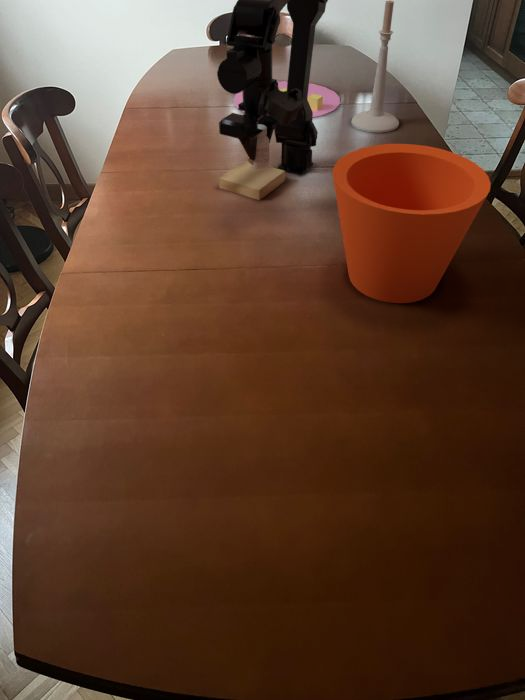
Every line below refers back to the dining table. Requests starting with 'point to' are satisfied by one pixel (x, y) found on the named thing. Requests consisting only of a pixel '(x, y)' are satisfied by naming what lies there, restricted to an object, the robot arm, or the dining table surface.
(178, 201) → the dining table surface
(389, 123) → the candlestick
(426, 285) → the flowerpot
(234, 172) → the birch board
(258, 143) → the pill bottle
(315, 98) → the platter
